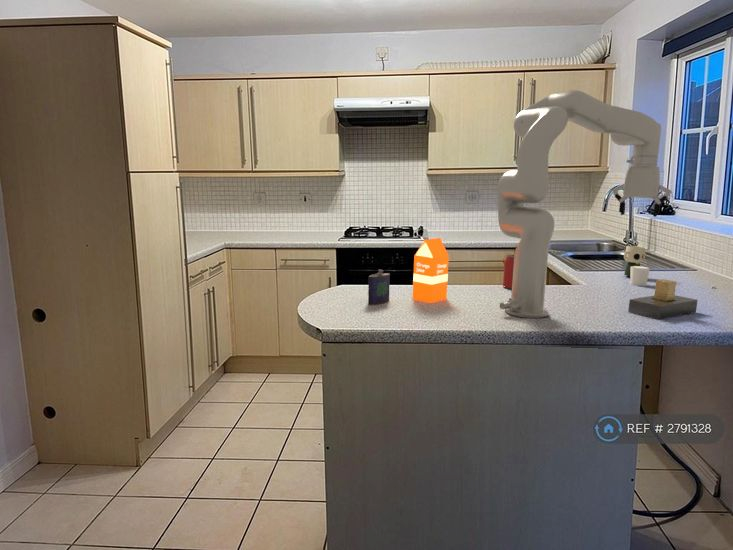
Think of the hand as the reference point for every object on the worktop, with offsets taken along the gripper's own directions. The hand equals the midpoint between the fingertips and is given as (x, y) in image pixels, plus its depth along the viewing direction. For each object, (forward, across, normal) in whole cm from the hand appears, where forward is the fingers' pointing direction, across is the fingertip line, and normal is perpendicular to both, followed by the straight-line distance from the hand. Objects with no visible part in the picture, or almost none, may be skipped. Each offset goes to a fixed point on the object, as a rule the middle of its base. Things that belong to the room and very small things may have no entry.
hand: (638, 215), depth 180 cm
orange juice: (+29, -55, -40) cm, 74 cm away
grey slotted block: (+29, +11, -9) cm, 32 cm away
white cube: (+30, -2, +37) cm, 47 cm away
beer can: (+29, -39, -3) cm, 49 cm away
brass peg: (+29, +11, -9) cm, 32 cm away
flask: (+28, -65, -55) cm, 90 cm away
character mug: (+30, -6, +53) cm, 61 cm away
